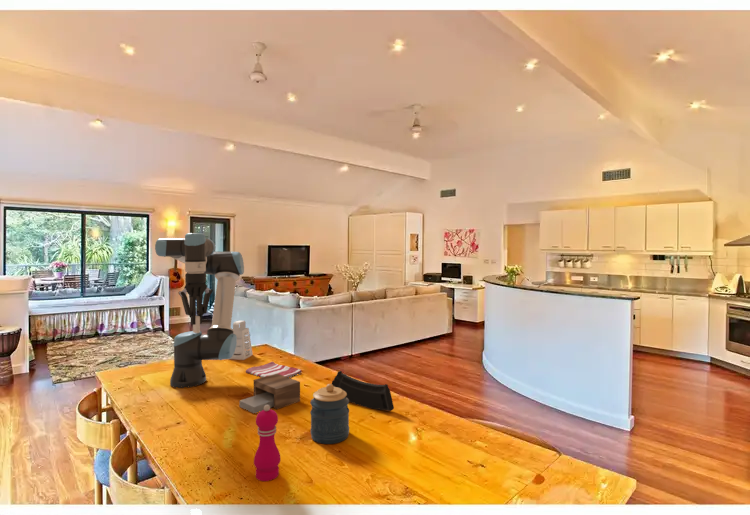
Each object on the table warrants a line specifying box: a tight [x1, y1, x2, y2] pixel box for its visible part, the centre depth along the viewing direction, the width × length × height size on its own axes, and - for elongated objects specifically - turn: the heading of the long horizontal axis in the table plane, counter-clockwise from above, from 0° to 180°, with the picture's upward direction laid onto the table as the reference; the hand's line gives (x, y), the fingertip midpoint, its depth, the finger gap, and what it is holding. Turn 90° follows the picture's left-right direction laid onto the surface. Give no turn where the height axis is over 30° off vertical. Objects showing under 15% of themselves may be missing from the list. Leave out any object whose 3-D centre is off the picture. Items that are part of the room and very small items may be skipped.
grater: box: [229, 320, 254, 361], centre depth 239 cm, size 10×10×20 cm
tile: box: [239, 392, 274, 414], centre depth 171 cm, size 10×18×3 cm, turn 140°
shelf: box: [253, 374, 301, 410], centre depth 175 cm, size 16×12×8 cm
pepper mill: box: [253, 405, 281, 482], centre depth 119 cm, size 7×7×20 cm
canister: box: [310, 383, 350, 445], centre depth 143 cm, size 13×13×18 cm
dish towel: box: [245, 361, 303, 378], centre depth 211 cm, size 17×23×3 cm
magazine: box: [331, 370, 395, 412], centre depth 171 cm, size 17×3×30 cm
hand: (196, 332), depth 167 cm, fingers closed
